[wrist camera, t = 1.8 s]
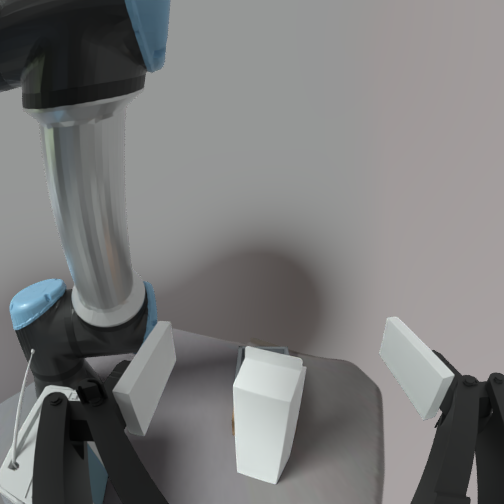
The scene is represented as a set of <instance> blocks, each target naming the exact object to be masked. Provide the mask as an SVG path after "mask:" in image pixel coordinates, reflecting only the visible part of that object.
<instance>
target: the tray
mask: <svg viewBox="0 0 504 504" xmlns="http://www.w3.org/2000/svg"><path fill="white" fill-rule="evenodd" d="M246 347H247V346H239V348H238V357H237V365H236V374H235V380H236V377H237V375H238V373H239V371H240V368H241V366H242V364H243V361H244V359H245V348H246ZM250 347H252V346H250ZM254 348H258V349H262V350H267V351H271V352H275V353H280V354H284V355H289V351H288V347H254Z"/></svg>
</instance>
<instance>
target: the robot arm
mask: <svg viewBox="0 0 504 504" xmlns="http://www.w3.org/2000/svg"><path fill="white" fill-rule="evenodd" d="M169 11H170V0H0V92H3V91H7V90H10V89H14V88H18V87H22V102H23V111H24V112H26V113H27V114H29V115H30V116H32V117H33V118H35V119H36V120H37V121H38V123H39V129H40V140H41V149H42V157H43V164H44V170H45V177H46V182H47V188H48V193H49V197H50V202H51V207H52V211H53V215H54V219H55V223H56V227H57V231H58V234H59V238H60V241H61V245H62V248H63V251H64V254H65V258H66V261H67V264H68V266H69V270H70V272H71V275H72V278H73V280H74V283H75V284H74V287H73V289H68V290H67V289H66V285H65V283H64V281H63V280H61V279H48V280H44V281H41V282H38V283H35V284H33V285H31V286H29V287H26V288H25V289H23V290H22V291H20V292H19V293H18V294H16V295H15V297H14V298H13V299H12V301H11V303H10V314H11V318H12V322H13V328H14V330H15V331H16V334H17V337H18V340H19V342H20V345H21V347H22V350H23V352H24V355H25V357H26V360H27V362H28V364H29V360H30V358H31V354H32V353H31V350H32V349H33V350H35V352H34V354H33V355H32V358H31V363H30V369H31V371H32V373H33V376H34V382H35V389H36V395H37V399H38V398H39V397H40V395H41V394H42V392H43V390H44V389H45V387H46V386H49V385H54V386H61V387H69V388H71V389H73V390H76V393H77V395H78V397H79V399H80V401H69V400H68V398H67V396H66V395H65V394H64V393H62V392H52V393H50V394H48V395H47V396H45V398H44V400H43V403H42V408H41V413H40V419H39V424H38V431H37V437H36V445H35V454H34V464H33V480H32V504H93V500H92V493H91V485H90V476H89V464H88V447H87V441H91V442H95V445H96V448H97V450H98V453H99V455H100V457H101V460H102V462H103V465H104V467H105V469H106V471H107V474H108V476H109V478H110V480H111V482H112V484H113V486H114V488H115V490H116V492H117V494H118V496H119V498H120V500H121V501H122V503H123V504H169V503H168V502H167V501H166V499H165V498H164V496H163V495H162V494H161V492H160V491H159V489H158V488H157V486H156V485H155V483H154V482H153V480H152V479H151V477H150V476H149V474H148V472H147V471H146V469H145V468H144V466H143V464H142V463H141V461H140V459H139V458H138V456H137V454H136V452H135V451H134V449H133V447H132V445H131V443H130V441H129V440H128V438H127V436H126V434H125V432H124V429H125V427H126V426H127V429H128V431H129V433H130V434H135V435H140V436H145V434H146V432H147V429H148V427H149V424H150V422H151V419H152V417H153V414H154V412H155V410H156V407H157V405H158V402H159V400H160V397H161V395H162V393H163V390H164V388H165V385H166V383H167V381H168V378H169V376H170V374H171V371H172V369H173V367H174V364H175V362H176V354H175V348H174V342H173V335H172V328H171V322H165V321H158V323H157V308H156V300H155V294H154V290H153V287H152V285H151V284H150V283H149V282H144V281H143V280H142V278H141V277H140V275H138V273H137V272H136V271H134V270H133V269H132V264H131V257H130V248H129V238H128V227H127V214H126V198H125V166H124V146H125V143H124V142H125V141H124V140H125V116H126V108H127V106H128V104H129V103H130V102H132V101H133V100H134V99H135V98H136V97H137V96H138V95H139V94H140V93H142V91H143V90H144V82H145V75H146V72H147V71H148V72H154V71H157V70H160V69H161V68H162V67H163V65H164V62H165V52H166V41H167V35H168V24H169ZM129 353H133V354H136V355H135V357H134V358H133V360H132V361H126V360H123V361H122V362H120V363H119V364H117V365H116V367H115V368H114V369H113V372H111V374H110V375H109V377H108V378H107V379H106V381H105V382H104V384H103V383H102V381H101V380H100V378H99V376H98V375H97V374H96V372H95V371H94V370H93V369H92V367H91V366H90V365H89V364H88V362H87V361H86V360H85V358H87V357H99V356H110V355H119V354H129ZM379 355H380V357H381V358H382V360H383V361H384V362H385V364H386V365H387V367H388V368H389V370H390V371H391V373H392V374H393V375H394V377H395V378H396V380H397V381H398V383H399V384H400V386H401V387H402V389H403V390H404V392H405V393H406V395H407V396H408V398H409V399H410V401H411V402H412V404H413V405H414V407H415V408H416V410H417V412H418V413H419V415H420V416H421V418H422V419H423V421H424V420H427V419H430V418H433V417H435V415H436V414H437V412H438V410H439V408H440V410H441V411H442V415H441V416H440V418H439V420H438V422H437V423H436V425H435V428H436V427H437V425H438V427H437V431H436V434H435V438H434V442H433V445H432V448H431V452H430V455H429V458H428V461H427V464H426V466H425V469H424V472H423V475H422V477H421V480H420V483H419V485H418V488H417V490H416V492H415V495H414V497H413V499H412V501H411V504H470V497H466V492H467V488H468V484H469V479H470V474H471V469H472V464H473V459H474V453H475V455H476V465H477V483H478V504H504V375H503V374H501V373H492V374H490V376H489V378H488V380H487V381H485V382H479V381H478V380H477V379H476V378H475V377H472V376H470V375H463V376H462V375H461V374H460V373H459V372H458V371H457V370H456V369H455V368H454V367H453V366H452V365H451V364H449V362H448V361H447V360H446V359H445V358H444V357H443V356H442V355H441V354H440V353H438V352H436V351H434V350H432V351H431V350H430V349H429V348H428V347H427V346H426V345H425V344H424V343H423V342H422V341H421V340H420V339H419V338H418V337H417V336H416V335H415V334H414V333H413V332H412V331H411V330H410V329H409V328H408V327H407V326H406V325H405V324H404V323H403V322H402V321H401V320H400V319H399V318H398V317H390V318H387V321H386V326H385V331H384V335H383V340H382V344H381V348H380V353H379ZM492 411H493V412H492Z"/></svg>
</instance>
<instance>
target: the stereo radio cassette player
mask: <svg viewBox="0 0 504 504" xmlns="http://www.w3.org/2000/svg"><path fill="white" fill-rule="evenodd" d="M34 352H35V350H33V349H32V350H31V353H32V354H31V358H32V355H33V354H34ZM31 358H30V360H29V364H28V368H27V370H26V374H25V379H24V381H23V386H22V390H21V395H20V399H19V404H18V410H17V416H16V422H15V430H14V439H13V444H12V446H11V448H10V450H9V452H8V454H7V456H6V458H5V460H4V462H3V465H2V467H1V469H0V493H1V494H2V495H4V496H5V497H7V498H8V499H9V500H10V501H11V502H13V503H14V504H32V480H33V464H34V454H35V445H36V437H37V431H38V424H39V419H40V413H41V408H42V403H43V400H44V398H45V396H47V395H48V394H50V393H52V392H62V393H64V394H65V395H66V396H67V398H68V400H69V401H80V399H79V397H78V395H77V393H76V390H73V389H71V388H69V387H61V386H54V385H49V386H46V387H45V389H44V390H43V392H42V394H41V395H40V397H39V398H38V400H37V402H36V403H35V405H34V407H33V408H32V410H31V412H30V413H29V415H28V417H27V419H26V420H25V422H24V424H23V426H22V427H21V429H20V431H19V433H18V428H19V421H20V414H21V408H22V403H23V396H24V391H25V386H26V380H27V376H28V372H29V367H30V363H31ZM87 447H88V464H89V476H90V485H91V493H92V500H93V504H102V503H103V498H104V493H105V488H106V483H107V479H108V474H107V471H106V469H105V467H104V465H103V462H102V460H101V457H100V455H99V453H98V450H97V448H96V445H95V442H91V441H87Z"/></svg>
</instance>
